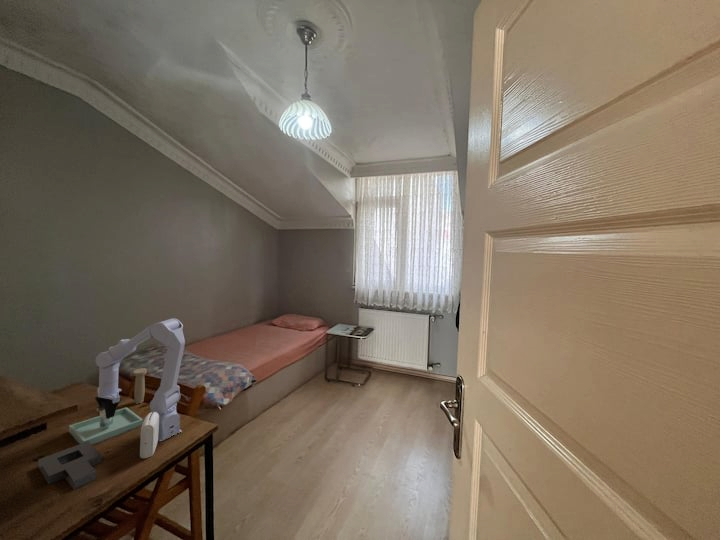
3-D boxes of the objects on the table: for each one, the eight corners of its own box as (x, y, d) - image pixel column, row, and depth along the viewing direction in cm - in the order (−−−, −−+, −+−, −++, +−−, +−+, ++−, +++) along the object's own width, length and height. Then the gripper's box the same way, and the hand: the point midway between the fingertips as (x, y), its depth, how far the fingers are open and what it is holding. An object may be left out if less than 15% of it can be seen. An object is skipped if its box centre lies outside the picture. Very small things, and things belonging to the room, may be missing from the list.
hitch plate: (110, 472, 92) (110, 464, 92) (56, 497, 82) (56, 488, 82) (88, 448, 103) (88, 441, 103) (38, 467, 92) (38, 459, 92)
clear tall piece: (99, 429, 110) (100, 409, 110) (93, 426, 112) (94, 406, 112) (118, 421, 116) (118, 402, 116) (112, 419, 117) (112, 400, 117)
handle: (146, 398, 139) (147, 367, 139) (144, 404, 134) (145, 372, 133) (133, 400, 137) (135, 368, 136) (131, 406, 131) (132, 373, 131)
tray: (142, 425, 118) (143, 419, 118) (83, 448, 102) (83, 441, 102) (126, 412, 126) (126, 407, 126) (69, 432, 111) (69, 425, 111)
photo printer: (153, 457, 100) (154, 421, 100) (138, 460, 98) (139, 424, 98) (159, 440, 109) (160, 407, 109) (145, 442, 108) (146, 409, 107)
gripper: (129, 382, 114) (128, 416, 114) (113, 373, 121) (112, 405, 121) (107, 388, 107) (105, 425, 108) (91, 379, 115) (89, 413, 115)
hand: (107, 415), depth 114 cm, fingers closed on clear tall piece, 4 cm apart
